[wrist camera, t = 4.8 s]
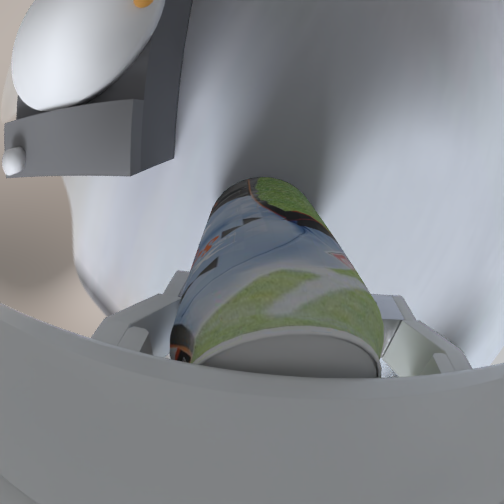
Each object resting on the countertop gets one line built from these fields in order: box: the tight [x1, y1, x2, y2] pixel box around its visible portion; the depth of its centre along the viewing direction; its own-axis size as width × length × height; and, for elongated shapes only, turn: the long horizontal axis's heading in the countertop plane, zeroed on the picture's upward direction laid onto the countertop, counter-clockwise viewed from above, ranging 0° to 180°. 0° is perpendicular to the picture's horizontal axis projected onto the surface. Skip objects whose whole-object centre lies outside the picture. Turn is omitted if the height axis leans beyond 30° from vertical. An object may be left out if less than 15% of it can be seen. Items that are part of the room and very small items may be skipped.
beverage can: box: [170, 177, 384, 378], centre depth 11 cm, size 6×7×12 cm
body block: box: [2, 0, 192, 178], centre depth 10 cm, size 13×10×6 cm
